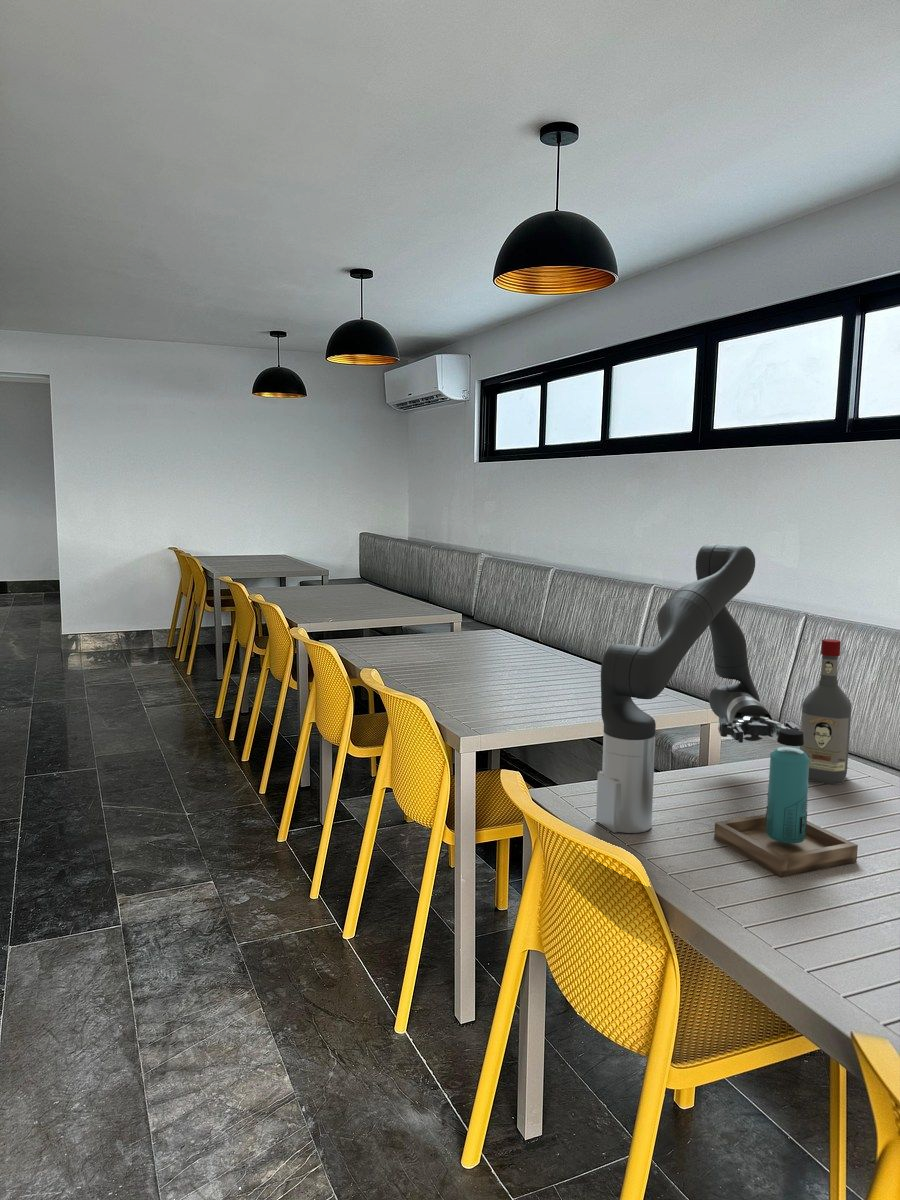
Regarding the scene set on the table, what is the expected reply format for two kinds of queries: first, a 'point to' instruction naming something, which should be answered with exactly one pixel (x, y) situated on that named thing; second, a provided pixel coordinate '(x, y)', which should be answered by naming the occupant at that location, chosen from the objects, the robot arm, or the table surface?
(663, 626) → the robot arm
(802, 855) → the tray
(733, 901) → the table surface
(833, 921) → the table surface
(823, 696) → the liquor
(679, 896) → the table surface
